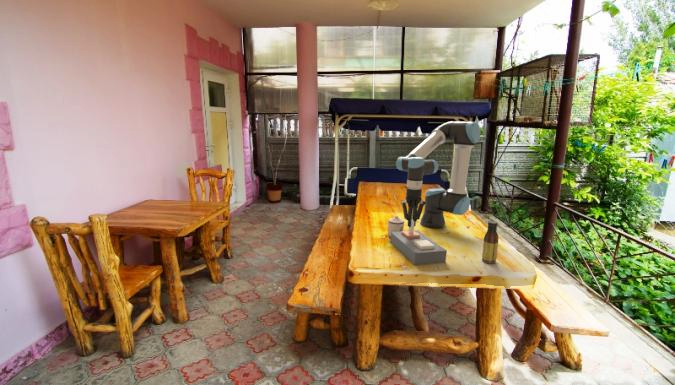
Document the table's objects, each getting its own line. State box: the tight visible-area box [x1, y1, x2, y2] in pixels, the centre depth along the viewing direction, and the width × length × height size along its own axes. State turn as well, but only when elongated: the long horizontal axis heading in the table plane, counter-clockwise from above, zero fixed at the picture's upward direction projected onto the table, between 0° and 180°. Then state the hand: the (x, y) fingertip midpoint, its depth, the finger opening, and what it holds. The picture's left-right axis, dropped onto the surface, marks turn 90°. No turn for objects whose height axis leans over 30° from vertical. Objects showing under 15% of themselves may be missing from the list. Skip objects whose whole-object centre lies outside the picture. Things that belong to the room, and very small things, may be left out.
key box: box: [390, 229, 447, 266], centre depth 161 cm, size 16×28×6 cm, turn 14°
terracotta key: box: [402, 230, 420, 239], centre depth 167 cm, size 7×7×4 cm
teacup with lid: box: [387, 215, 405, 238], centre depth 184 cm, size 12×9×12 cm
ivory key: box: [414, 240, 434, 250], centre depth 154 cm, size 7×7×4 cm
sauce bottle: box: [481, 220, 499, 265], centre depth 150 cm, size 6×6×20 cm
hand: (410, 232), depth 166 cm, fingers closed
